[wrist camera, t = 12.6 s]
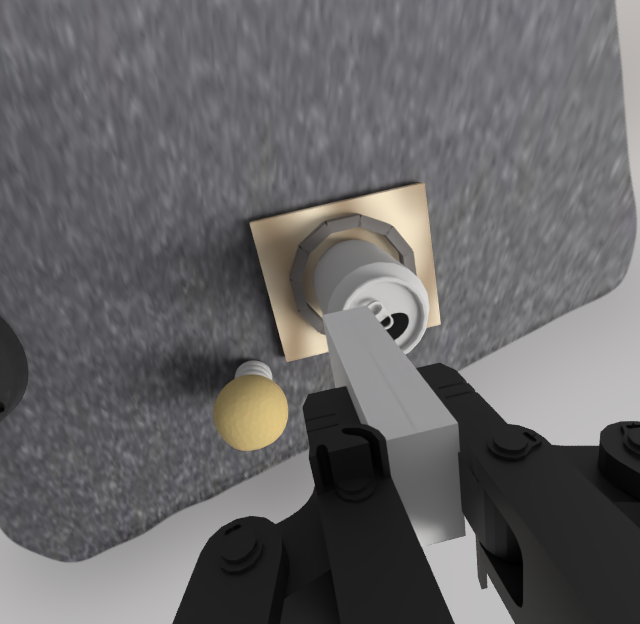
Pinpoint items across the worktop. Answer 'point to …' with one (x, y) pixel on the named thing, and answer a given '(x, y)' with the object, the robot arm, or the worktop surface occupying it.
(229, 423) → the light bulb
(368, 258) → the can
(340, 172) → the worktop surface
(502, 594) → the robot arm
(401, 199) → the board
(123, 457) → the worktop surface
